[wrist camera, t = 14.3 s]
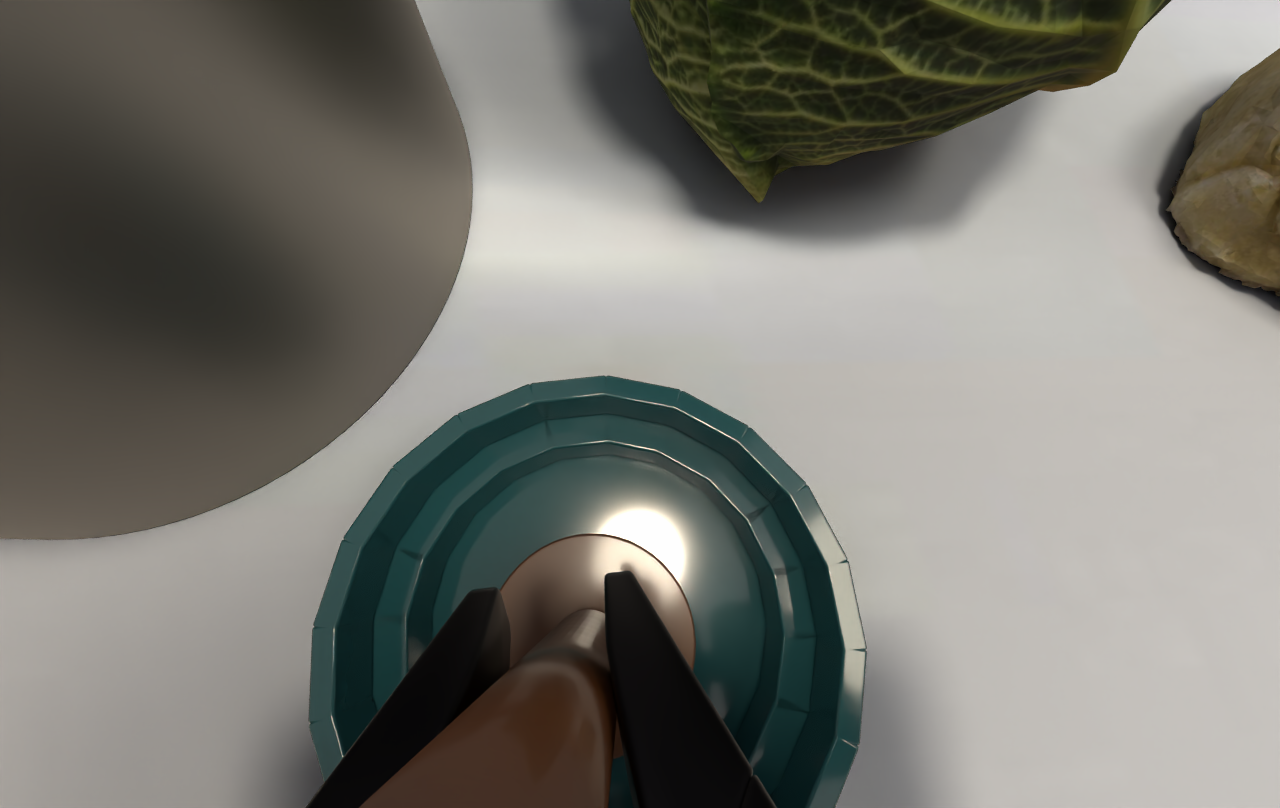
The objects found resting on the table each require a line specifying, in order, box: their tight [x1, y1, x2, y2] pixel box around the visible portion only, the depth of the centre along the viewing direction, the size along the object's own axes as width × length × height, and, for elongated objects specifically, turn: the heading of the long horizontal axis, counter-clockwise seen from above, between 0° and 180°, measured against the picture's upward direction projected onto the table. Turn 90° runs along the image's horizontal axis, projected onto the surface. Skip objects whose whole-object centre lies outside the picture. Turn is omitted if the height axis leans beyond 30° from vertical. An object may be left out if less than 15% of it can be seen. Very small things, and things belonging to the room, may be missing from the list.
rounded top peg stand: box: [359, 533, 696, 808], centre depth 8 cm, size 5×5×14 cm
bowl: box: [309, 376, 867, 808], centre depth 15 cm, size 13×13×4 cm
